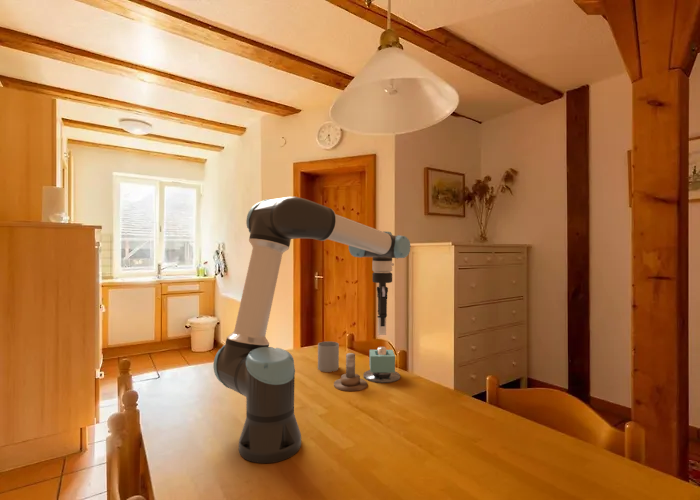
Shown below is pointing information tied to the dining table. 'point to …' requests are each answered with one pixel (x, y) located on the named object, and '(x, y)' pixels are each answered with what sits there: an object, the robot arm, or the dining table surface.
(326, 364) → the cup
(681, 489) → the dining table surface
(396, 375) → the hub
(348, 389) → the stand
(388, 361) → the teal square block
